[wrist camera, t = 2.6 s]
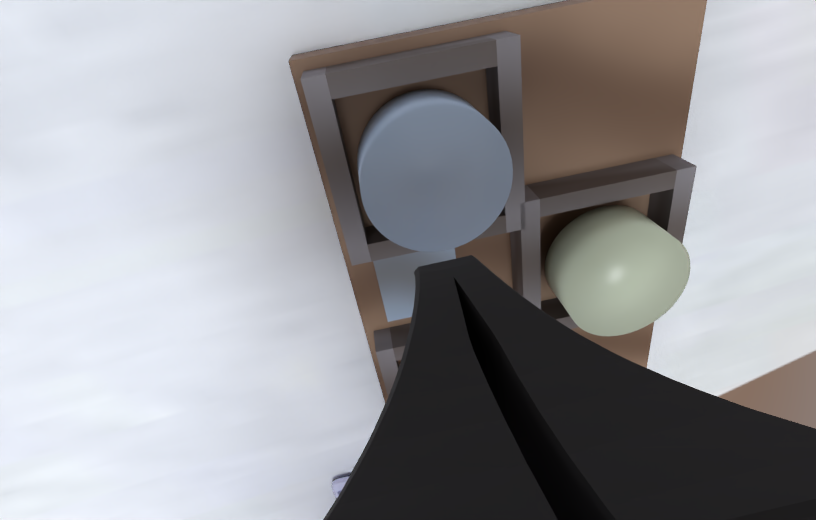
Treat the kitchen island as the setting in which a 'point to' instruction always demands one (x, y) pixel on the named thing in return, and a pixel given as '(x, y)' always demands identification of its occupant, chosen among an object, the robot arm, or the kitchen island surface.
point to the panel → (516, 140)
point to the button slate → (432, 171)
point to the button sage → (616, 270)
